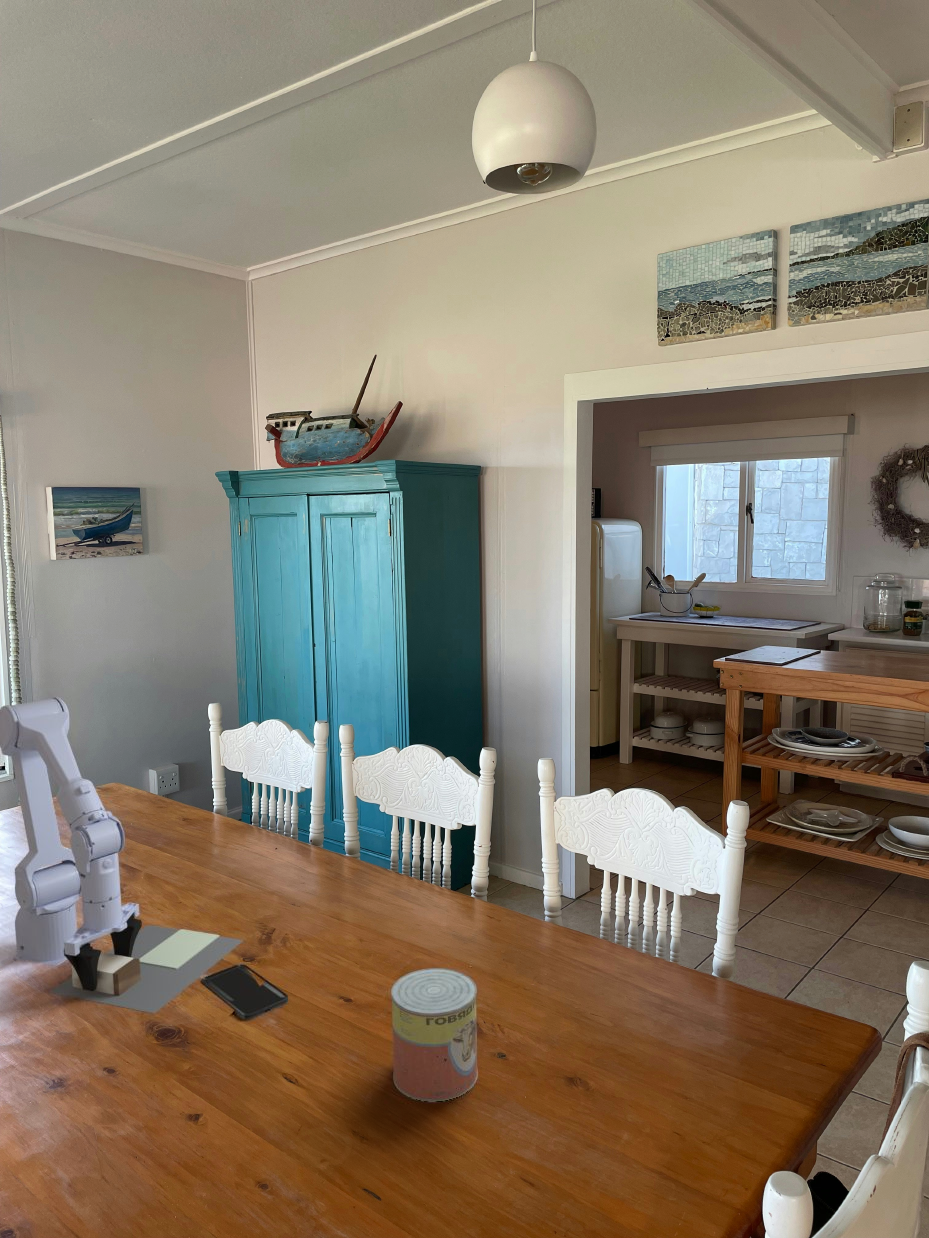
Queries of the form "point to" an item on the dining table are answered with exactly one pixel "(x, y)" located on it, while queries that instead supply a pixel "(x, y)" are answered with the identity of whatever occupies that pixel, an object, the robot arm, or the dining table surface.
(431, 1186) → the dining table surface
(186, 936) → the pad
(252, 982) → the phone
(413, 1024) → the canned food
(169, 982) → the mat
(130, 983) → the card box
